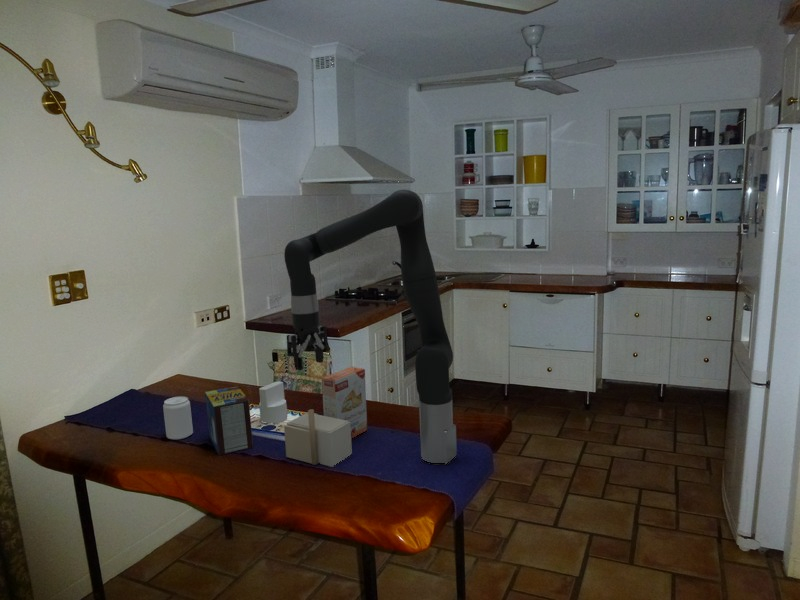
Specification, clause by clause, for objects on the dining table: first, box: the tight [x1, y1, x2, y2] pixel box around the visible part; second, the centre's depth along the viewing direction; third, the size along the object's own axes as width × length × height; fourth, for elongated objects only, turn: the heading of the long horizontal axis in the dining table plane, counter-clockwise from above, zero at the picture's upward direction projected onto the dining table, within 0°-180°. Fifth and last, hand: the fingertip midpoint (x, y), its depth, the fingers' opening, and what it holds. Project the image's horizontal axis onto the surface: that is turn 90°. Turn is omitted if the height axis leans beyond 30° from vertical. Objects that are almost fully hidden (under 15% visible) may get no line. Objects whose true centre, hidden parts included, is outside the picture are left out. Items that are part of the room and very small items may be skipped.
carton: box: [286, 412, 353, 468], centre depth 173 cm, size 16×9×10 cm, turn 58°
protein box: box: [204, 386, 254, 456], centre depth 184 cm, size 10×15×16 cm
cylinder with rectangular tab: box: [258, 380, 288, 424], centre depth 203 cm, size 9×9×12 cm
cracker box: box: [321, 366, 368, 440], centre depth 184 cm, size 14×6×21 cm, turn 143°
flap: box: [283, 409, 319, 466], centre depth 169 cm, size 11×2×16 cm, turn 58°
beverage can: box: [162, 396, 194, 440], centre depth 191 cm, size 8×8×12 cm
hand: (309, 365), depth 170 cm, fingers open, 8 cm apart
